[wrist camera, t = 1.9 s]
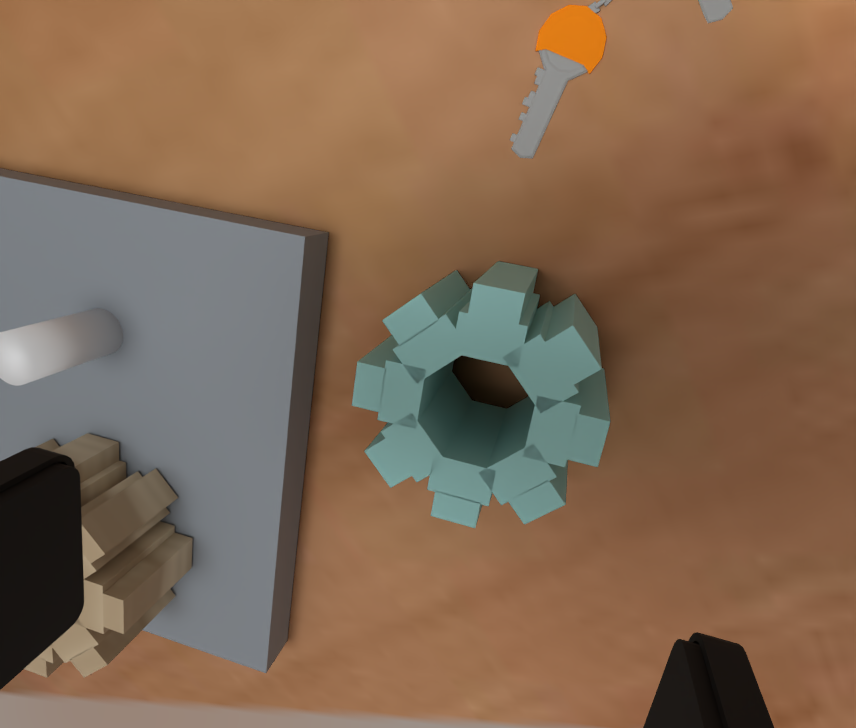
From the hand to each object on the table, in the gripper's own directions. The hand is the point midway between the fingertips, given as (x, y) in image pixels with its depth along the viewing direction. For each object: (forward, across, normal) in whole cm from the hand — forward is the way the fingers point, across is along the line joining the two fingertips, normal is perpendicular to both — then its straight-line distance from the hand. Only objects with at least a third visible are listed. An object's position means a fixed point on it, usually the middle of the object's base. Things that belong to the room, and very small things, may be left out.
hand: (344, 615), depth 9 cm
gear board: (+14, +14, +6) cm, 21 cm away
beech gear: (+12, +14, +10) cm, 21 cm away
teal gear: (+14, -1, 0) cm, 14 cm away
